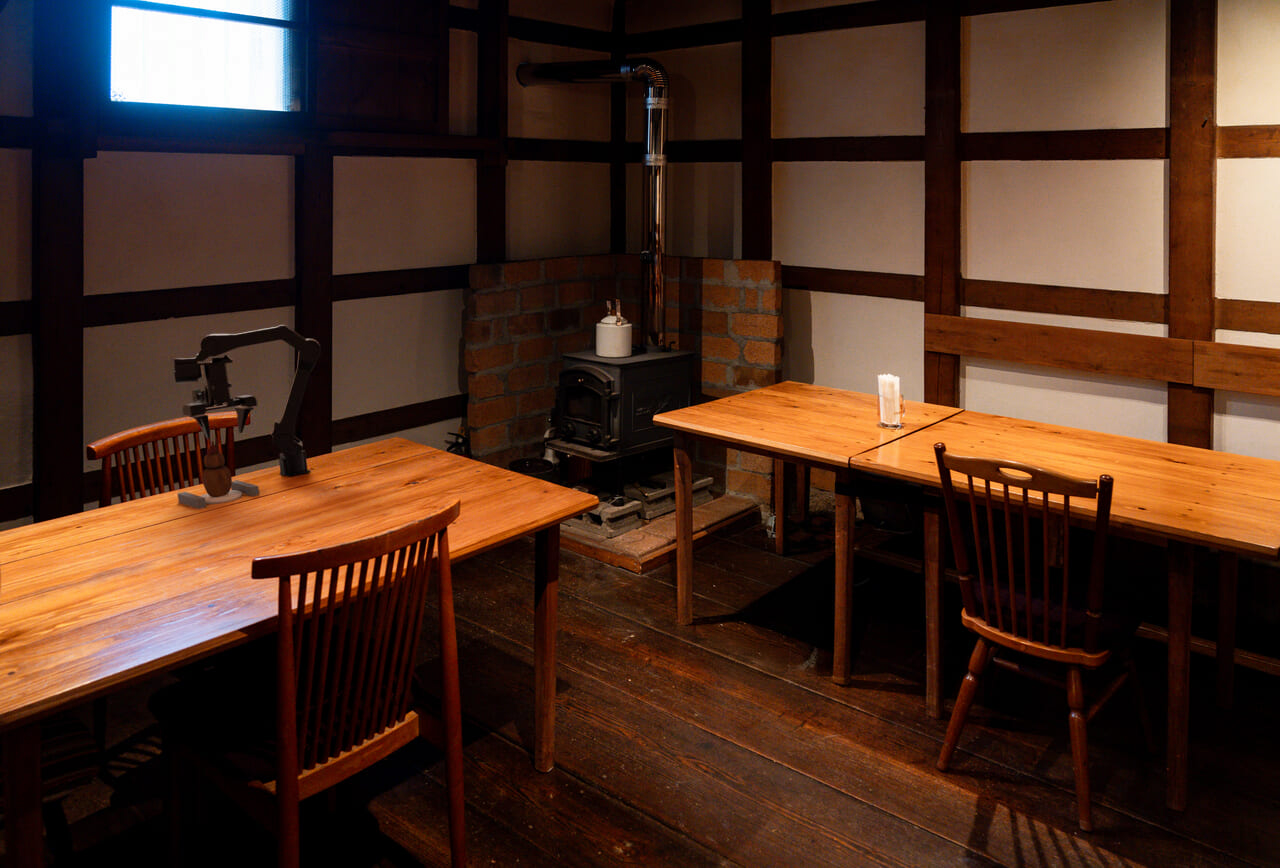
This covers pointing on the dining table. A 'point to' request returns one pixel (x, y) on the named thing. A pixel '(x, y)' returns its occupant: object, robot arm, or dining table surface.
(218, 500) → the coaster
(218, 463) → the wooden figurine
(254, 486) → the twin grey foam blocks
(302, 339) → the robot arm
